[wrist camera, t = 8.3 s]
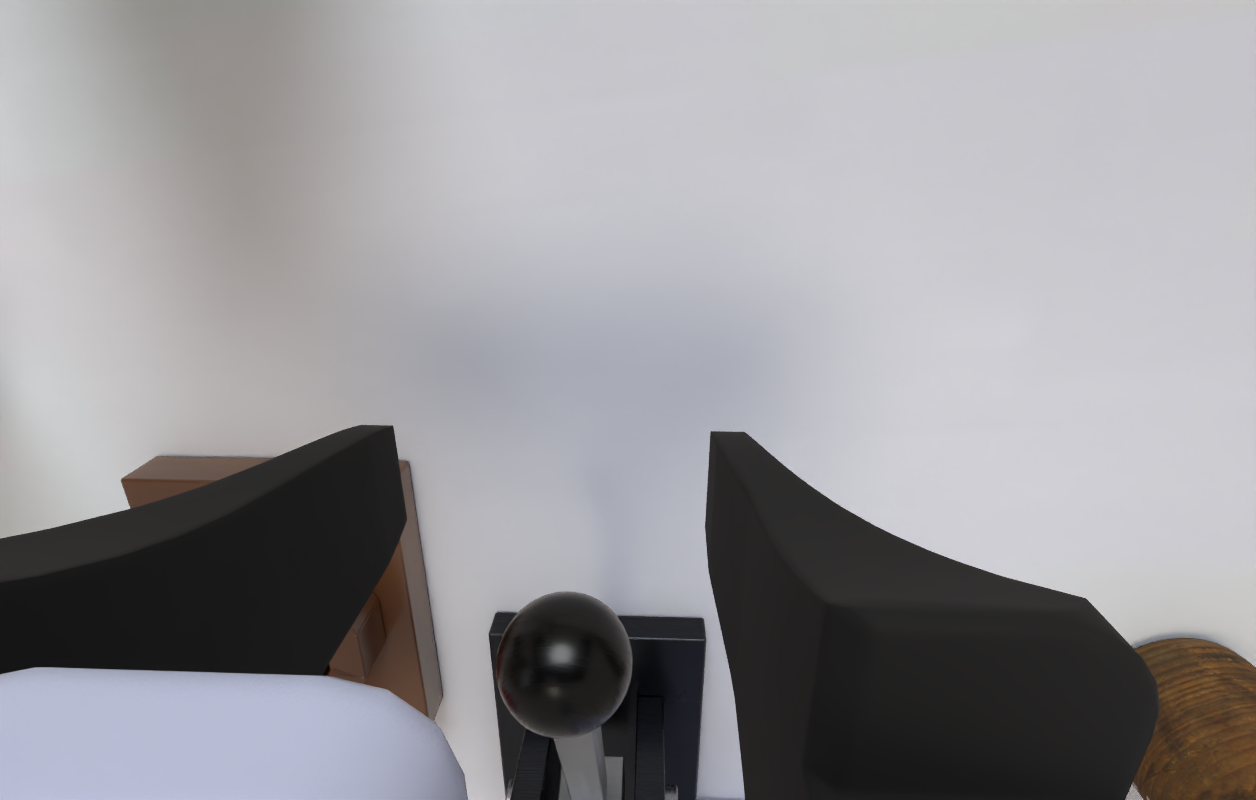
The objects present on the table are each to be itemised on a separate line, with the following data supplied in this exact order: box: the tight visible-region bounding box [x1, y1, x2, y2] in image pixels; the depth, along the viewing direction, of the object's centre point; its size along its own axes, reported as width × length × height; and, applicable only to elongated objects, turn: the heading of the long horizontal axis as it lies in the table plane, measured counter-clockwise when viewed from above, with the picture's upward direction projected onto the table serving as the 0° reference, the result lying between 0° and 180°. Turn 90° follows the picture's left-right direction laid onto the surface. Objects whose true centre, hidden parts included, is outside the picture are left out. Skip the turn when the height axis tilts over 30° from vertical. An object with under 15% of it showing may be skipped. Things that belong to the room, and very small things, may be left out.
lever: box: [496, 592, 633, 800], centre depth 18 cm, size 15×3×3 cm, turn 0°
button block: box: [121, 456, 443, 721], centre depth 23 cm, size 11×9×4 cm
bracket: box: [489, 612, 706, 800], centre depth 24 cm, size 10×8×6 cm
